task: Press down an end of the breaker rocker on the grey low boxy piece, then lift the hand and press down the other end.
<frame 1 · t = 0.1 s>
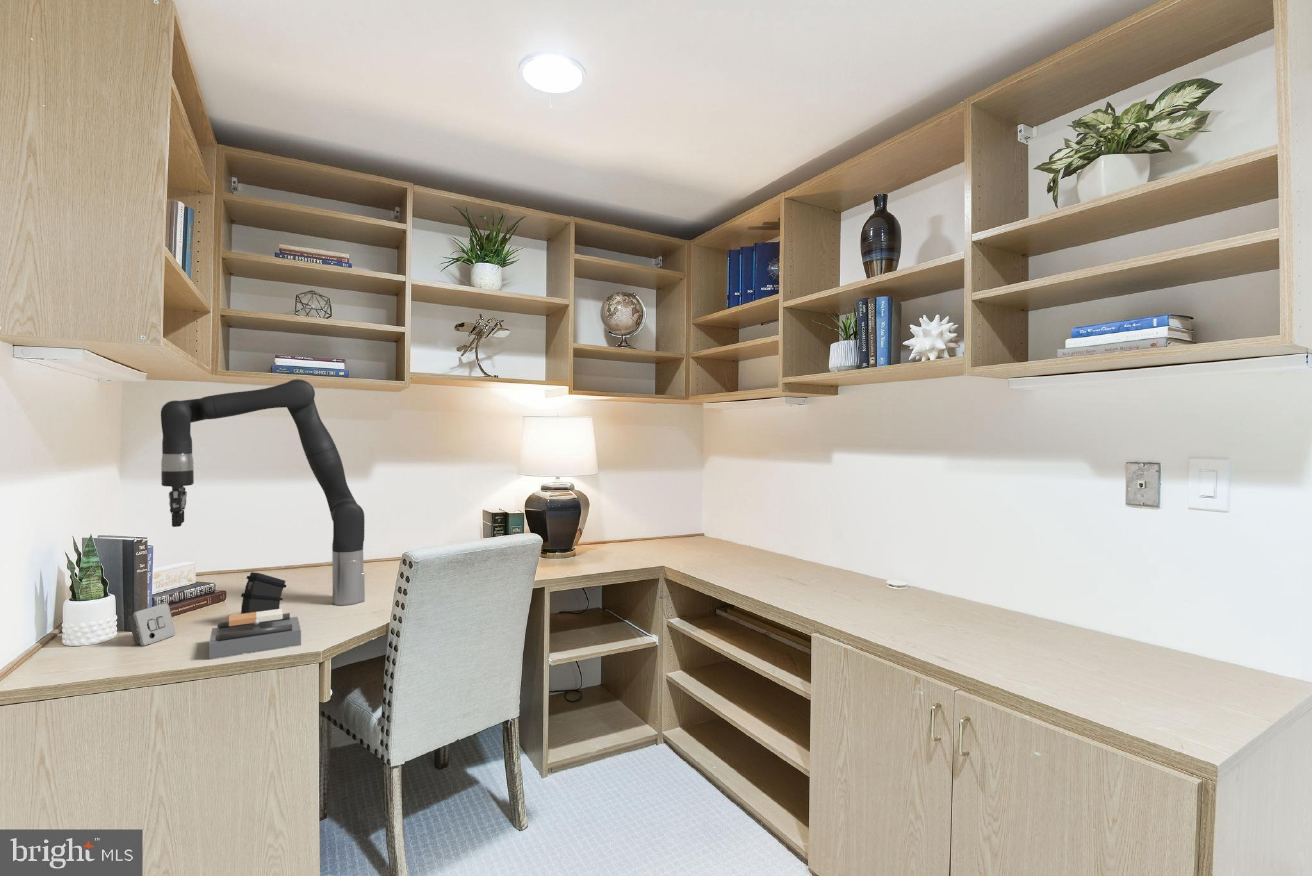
hand: (178, 524, 187), 29 cm above the table, tool pointing down, fingers open, 8 cm apart
magazine: (263, 621, 191), on the table
breaker rocker: (256, 618, 170), point 7 cm above the table, hinge at 0.0°
grey low boxy piece: (256, 644, 171), on the table
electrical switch: (151, 641, 173), on the table
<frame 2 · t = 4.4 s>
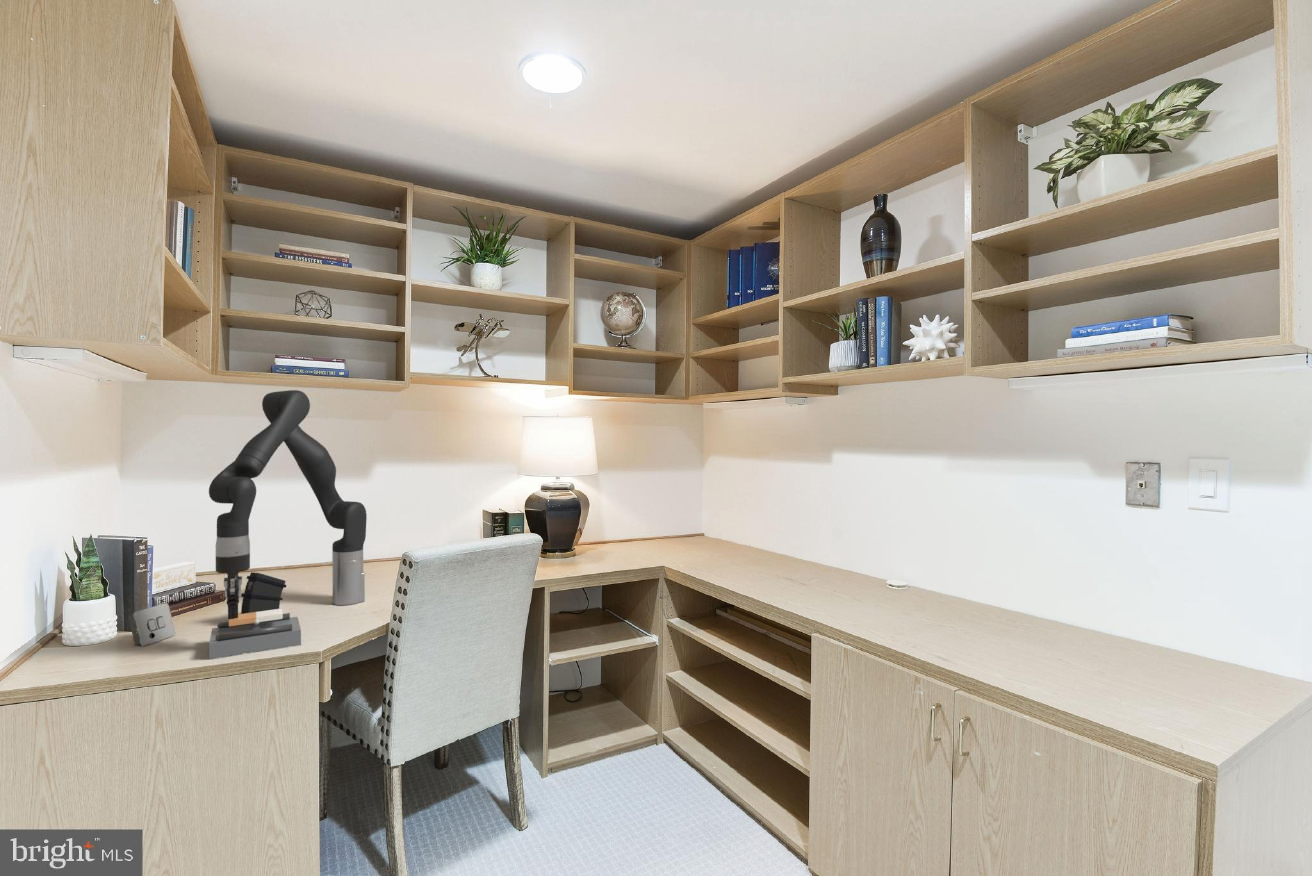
hand: (233, 618, 168), 8 cm above the table, tool pointing down, fingers closed
breaker rocker: (256, 618, 170), point 7 cm above the table, hinge at 0.5°, touching gripper
everything else where it was.
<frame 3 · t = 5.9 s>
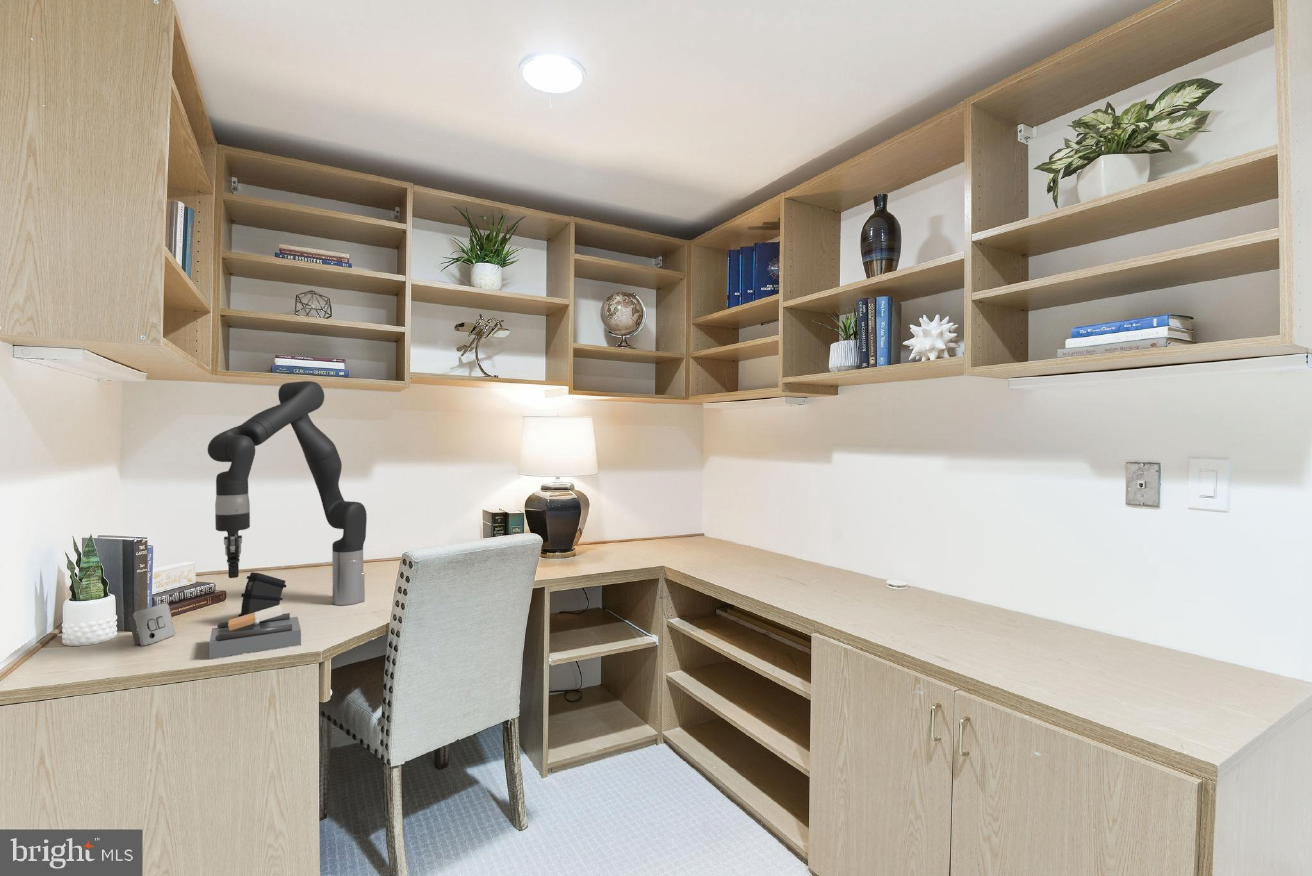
hand: (233, 577, 168), 19 cm above the table, tool pointing down, fingers closed
breaker rocker: (255, 618, 170), point 7 cm above the table, hinge at 11.5°
everything else where it was.
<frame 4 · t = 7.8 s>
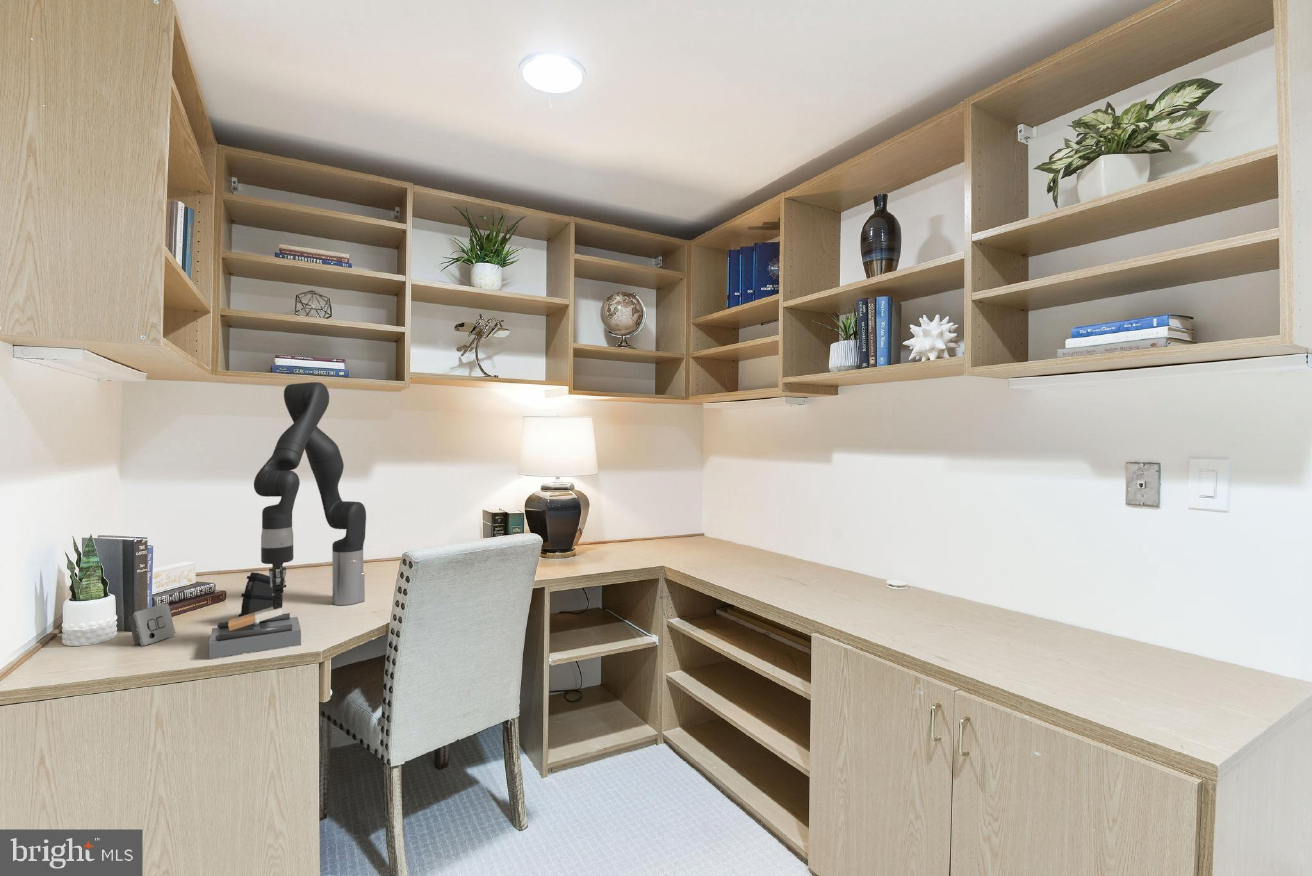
hand: (277, 608, 173), 9 cm above the table, tool pointing down, fingers closed
breaker rocker: (255, 618, 170), point 7 cm above the table, hinge at 11.7°, touching gripper
everything else where it was.
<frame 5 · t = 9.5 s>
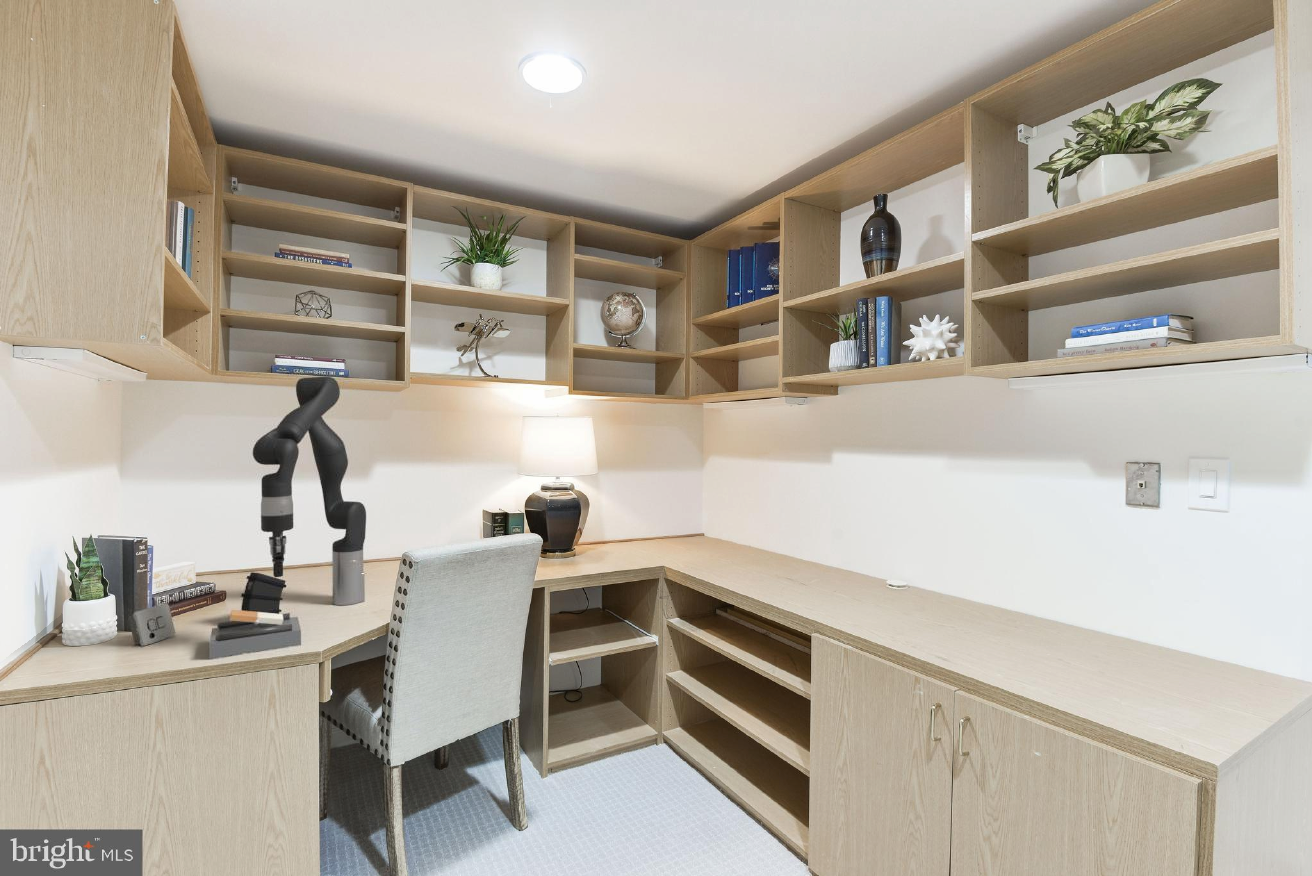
hand: (278, 576, 173), 18 cm above the table, tool pointing down, fingers closed
breaker rocker: (256, 618, 170), point 7 cm above the table, hinge at -14.6°
everything else where it was.
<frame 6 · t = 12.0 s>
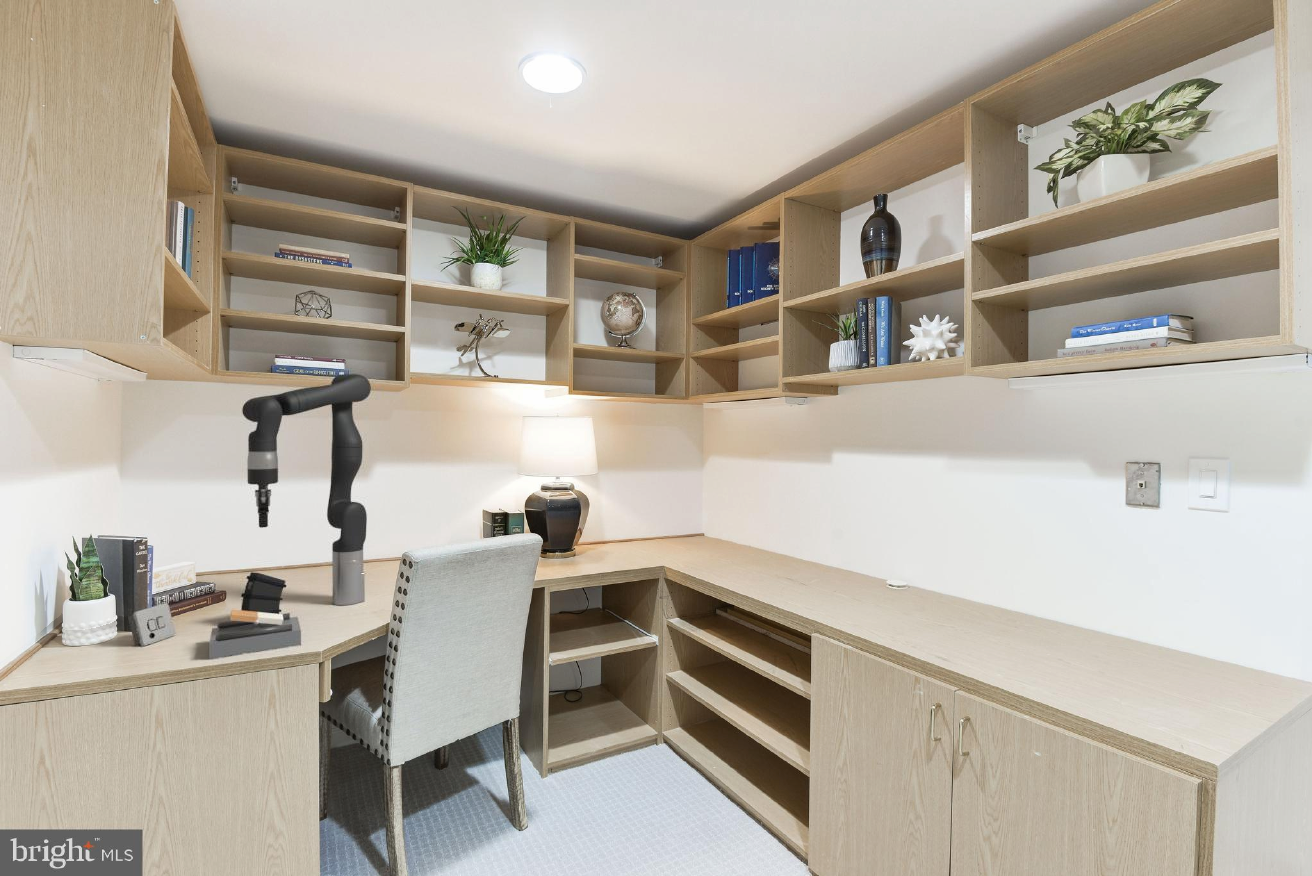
hand: (263, 526, 185), 29 cm above the table, tool pointing down, fingers closed
breaker rocker: (256, 618, 170), point 7 cm above the table, hinge at -15.0°
everything else where it was.
at the end: breaker rocker at -15° (first picture: +0°); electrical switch moved 0.3 cm from its start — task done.
